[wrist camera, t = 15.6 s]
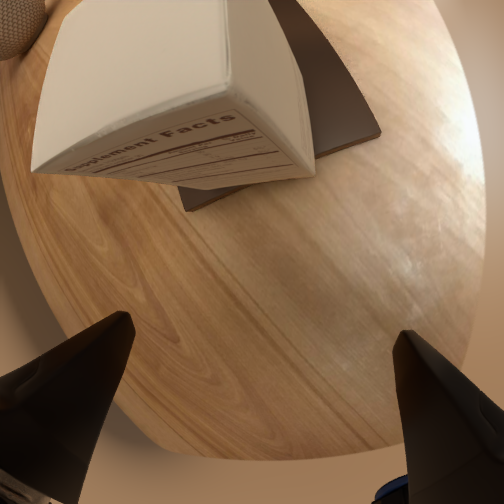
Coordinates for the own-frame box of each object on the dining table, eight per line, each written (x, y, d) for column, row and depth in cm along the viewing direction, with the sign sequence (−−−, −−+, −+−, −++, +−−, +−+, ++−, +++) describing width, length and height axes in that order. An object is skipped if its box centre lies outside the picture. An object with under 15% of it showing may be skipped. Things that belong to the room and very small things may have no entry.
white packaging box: (202, 95, 17) (62, 13, 5) (304, 74, 15) (227, -80, 3) (205, 193, 18) (24, 177, 6) (317, 181, 15) (235, 83, 4)
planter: (67, 2, 25) (5, -22, 7) (18, 78, 31) (-45, 67, 13) (53, -2, 28) (5, -20, 10) (13, 59, 34) (-36, 49, 16)
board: (380, 136, 15) (382, 132, 14) (192, 212, 20) (185, 212, 19) (230, -60, 14) (227, -64, 14) (134, -7, 19) (130, -10, 18)
